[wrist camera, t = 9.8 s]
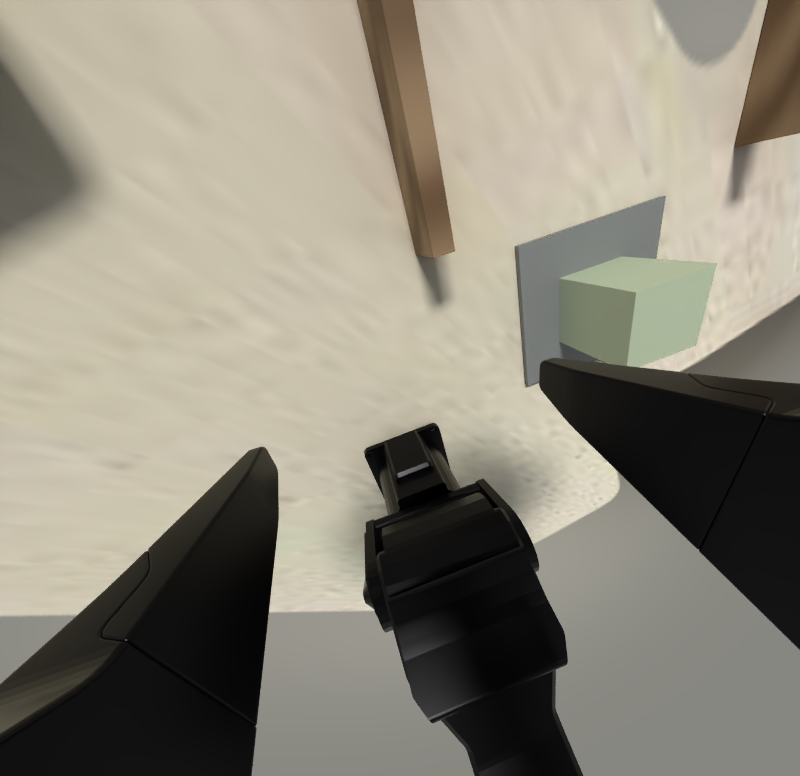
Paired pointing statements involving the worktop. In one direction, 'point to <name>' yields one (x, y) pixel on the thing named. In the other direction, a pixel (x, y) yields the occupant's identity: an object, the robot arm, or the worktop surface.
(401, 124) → the brown open-sided frame
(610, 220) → the slate mat
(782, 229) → the worktop surface
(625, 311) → the sage block
